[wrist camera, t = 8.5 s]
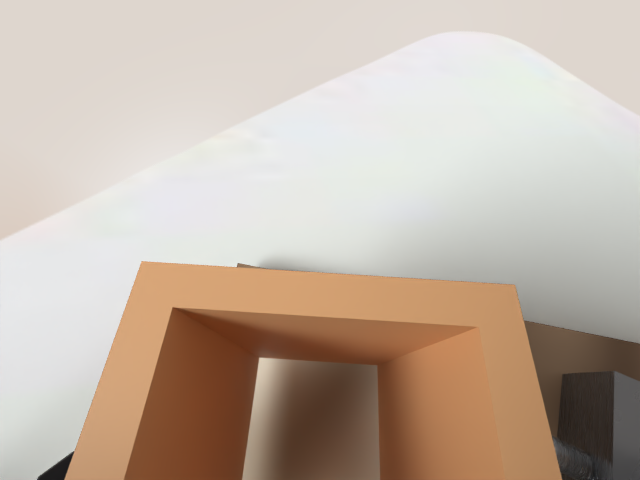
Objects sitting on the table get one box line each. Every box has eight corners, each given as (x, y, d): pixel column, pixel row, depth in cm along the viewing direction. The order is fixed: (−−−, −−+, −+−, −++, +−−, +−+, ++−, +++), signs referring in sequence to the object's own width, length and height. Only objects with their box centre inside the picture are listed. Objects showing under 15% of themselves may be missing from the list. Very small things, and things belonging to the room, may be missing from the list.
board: (695, 365, 15) (739, 362, 13) (829, 769, 9) (928, 843, 8) (244, 273, 16) (237, 261, 15) (143, 573, 11) (116, 603, 10)
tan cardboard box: (404, 551, 9) (715, 1115, 2) (211, 538, 9) (-133, 1035, 2) (394, 347, 12) (515, 284, 5) (244, 337, 12) (141, 261, 5)
